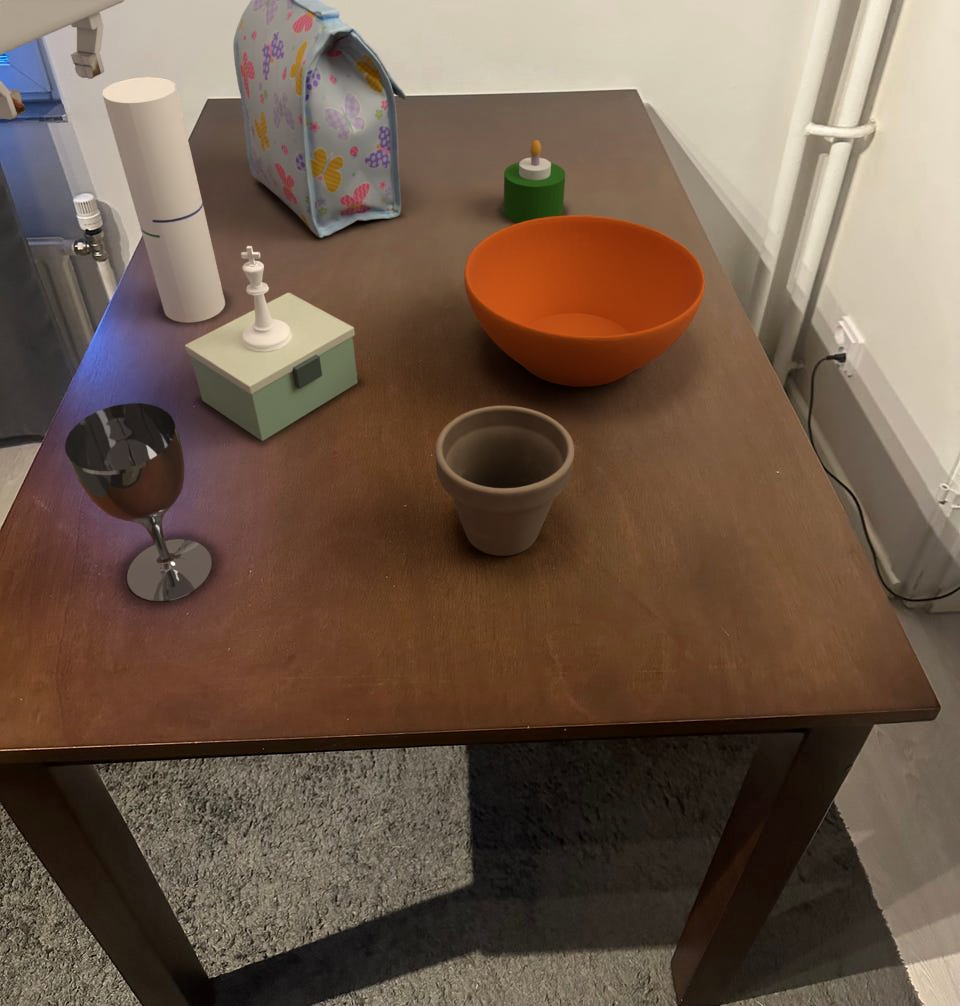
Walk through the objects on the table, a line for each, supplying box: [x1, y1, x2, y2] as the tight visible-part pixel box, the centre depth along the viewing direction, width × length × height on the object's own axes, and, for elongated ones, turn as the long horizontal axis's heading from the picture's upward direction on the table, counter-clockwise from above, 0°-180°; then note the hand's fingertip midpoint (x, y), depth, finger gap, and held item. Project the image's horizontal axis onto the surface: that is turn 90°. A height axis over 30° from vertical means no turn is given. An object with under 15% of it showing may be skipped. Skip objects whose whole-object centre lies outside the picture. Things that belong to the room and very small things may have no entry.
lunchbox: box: [184, 292, 359, 442], centre depth 92 cm, size 13×11×7 cm
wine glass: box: [64, 402, 213, 603], centre depth 71 cm, size 8×8×15 cm
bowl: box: [463, 214, 706, 388], centre depth 97 cm, size 25×25×10 cm
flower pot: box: [434, 405, 576, 557], centre depth 77 cm, size 12×11×10 cm
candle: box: [503, 139, 566, 224], centre depth 121 cm, size 8×8×10 cm
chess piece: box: [240, 245, 292, 352], centre depth 86 cm, size 5×5×10 cm
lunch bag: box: [232, 0, 407, 239], centre depth 118 cm, size 22×17×26 cm
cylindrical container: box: [101, 76, 226, 324], centre depth 98 cm, size 7×7×25 cm
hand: (53, 94), depth 72 cm, fingers open, 8 cm apart
